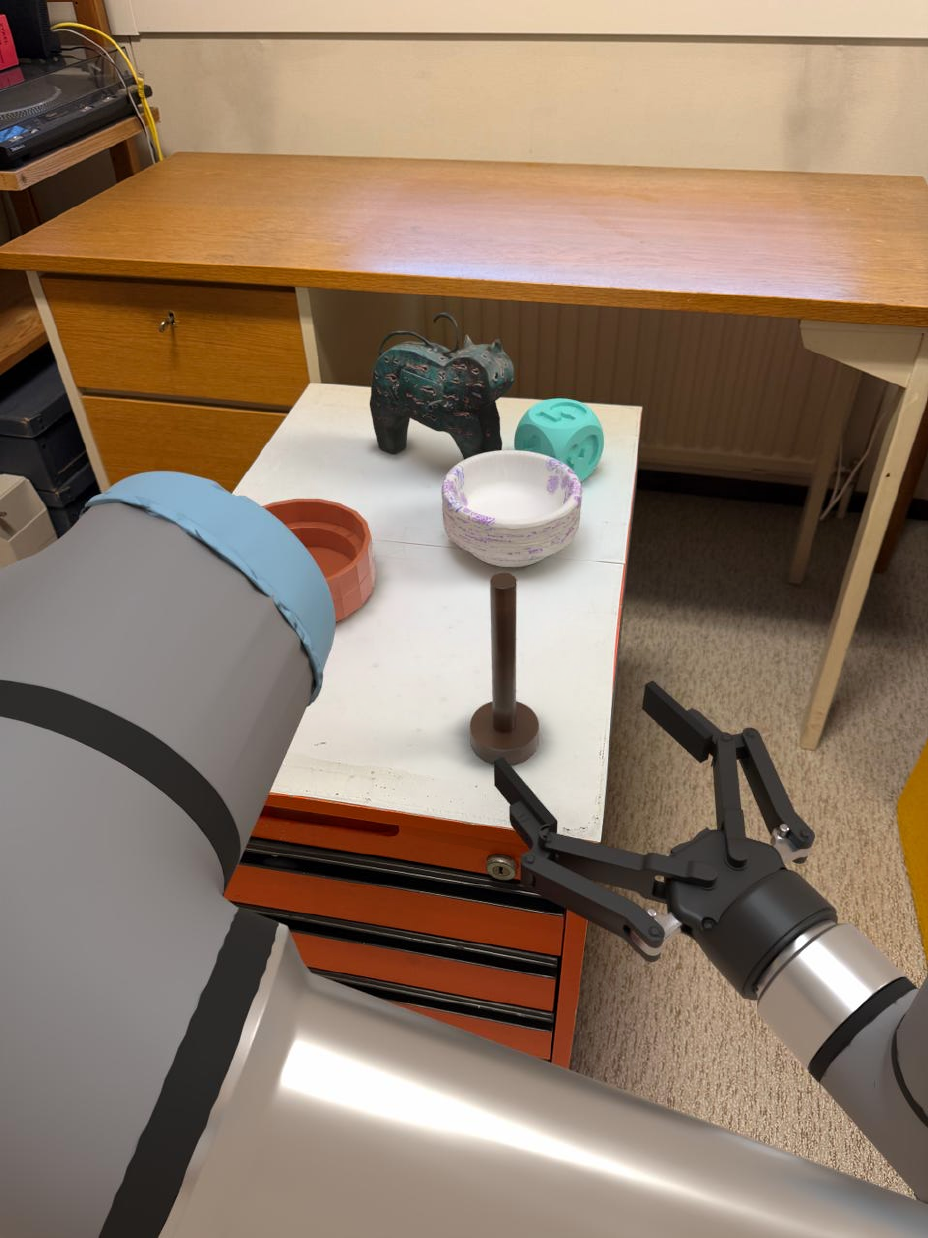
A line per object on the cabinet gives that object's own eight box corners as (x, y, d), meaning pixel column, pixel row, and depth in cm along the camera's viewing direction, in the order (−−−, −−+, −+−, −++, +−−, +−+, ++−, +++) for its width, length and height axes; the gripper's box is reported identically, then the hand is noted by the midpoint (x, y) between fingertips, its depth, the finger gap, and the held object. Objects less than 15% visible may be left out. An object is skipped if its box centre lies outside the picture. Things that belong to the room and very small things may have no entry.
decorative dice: (512, 469, 112) (513, 412, 106) (558, 447, 115) (560, 391, 110) (556, 495, 107) (559, 436, 102) (602, 471, 111) (607, 413, 105)
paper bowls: (607, 547, 99) (612, 487, 93) (501, 603, 92) (501, 541, 87) (519, 490, 108) (519, 433, 103) (418, 537, 101) (413, 478, 96)
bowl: (229, 650, 88) (216, 604, 84) (222, 556, 100) (210, 512, 96) (388, 619, 91) (382, 573, 87) (362, 532, 103) (357, 488, 99)
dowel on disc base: (480, 772, 75) (474, 612, 63) (463, 722, 80) (454, 564, 68) (547, 757, 76) (554, 597, 64) (526, 708, 81) (529, 550, 69)
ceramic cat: (517, 475, 111) (518, 319, 98) (488, 499, 107) (485, 340, 94) (395, 433, 120) (380, 286, 107) (364, 454, 116) (345, 304, 103)
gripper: (622, 1110, 49) (432, 839, 63) (919, 893, 58) (696, 699, 72) (635, 1052, 44) (425, 771, 58) (957, 825, 53) (709, 630, 67)
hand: (575, 731), depth 65 cm, fingers open, 13 cm apart
